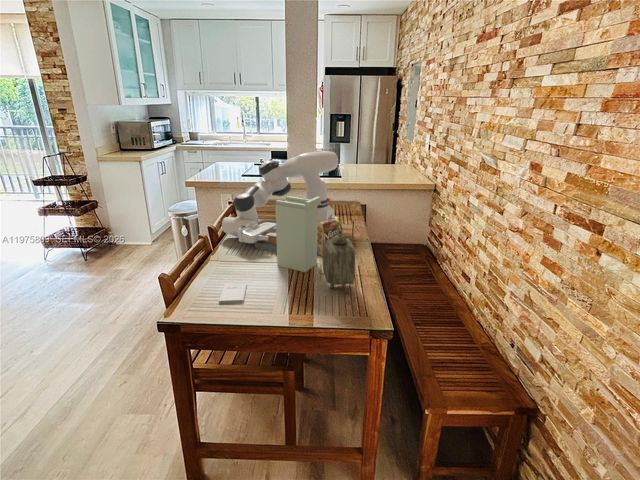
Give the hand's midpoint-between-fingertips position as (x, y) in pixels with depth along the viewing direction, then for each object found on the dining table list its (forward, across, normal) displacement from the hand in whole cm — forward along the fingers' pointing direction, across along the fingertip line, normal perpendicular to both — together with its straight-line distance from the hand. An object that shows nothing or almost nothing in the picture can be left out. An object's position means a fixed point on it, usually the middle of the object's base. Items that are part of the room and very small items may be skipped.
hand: (274, 235), depth 169 cm
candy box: (+24, -7, -7) cm, 25 cm away
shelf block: (+18, +10, -6) cm, 22 cm away
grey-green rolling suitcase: (+42, +20, -7) cm, 47 cm away
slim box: (+6, 0, -4) cm, 7 cm away
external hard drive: (+12, +42, -7) cm, 44 cm away
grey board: (+6, 0, -6) cm, 9 cm away
